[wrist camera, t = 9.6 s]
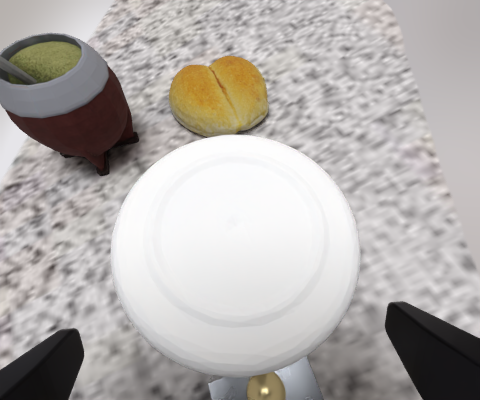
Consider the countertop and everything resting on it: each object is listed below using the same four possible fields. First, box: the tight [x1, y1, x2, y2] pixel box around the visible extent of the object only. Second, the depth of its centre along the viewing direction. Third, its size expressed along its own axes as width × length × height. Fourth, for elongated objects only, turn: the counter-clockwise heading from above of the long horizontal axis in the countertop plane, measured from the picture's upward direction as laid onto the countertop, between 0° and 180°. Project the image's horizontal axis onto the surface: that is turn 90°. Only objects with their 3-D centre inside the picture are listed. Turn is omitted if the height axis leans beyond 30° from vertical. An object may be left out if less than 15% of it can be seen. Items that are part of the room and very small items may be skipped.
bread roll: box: [169, 56, 269, 137], centre depth 23 cm, size 8×9×4 cm
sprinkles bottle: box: [110, 135, 361, 378], centre depth 10 cm, size 5×5×14 cm
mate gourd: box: [0, 33, 139, 176], centre depth 15 cm, size 8×8×15 cm
